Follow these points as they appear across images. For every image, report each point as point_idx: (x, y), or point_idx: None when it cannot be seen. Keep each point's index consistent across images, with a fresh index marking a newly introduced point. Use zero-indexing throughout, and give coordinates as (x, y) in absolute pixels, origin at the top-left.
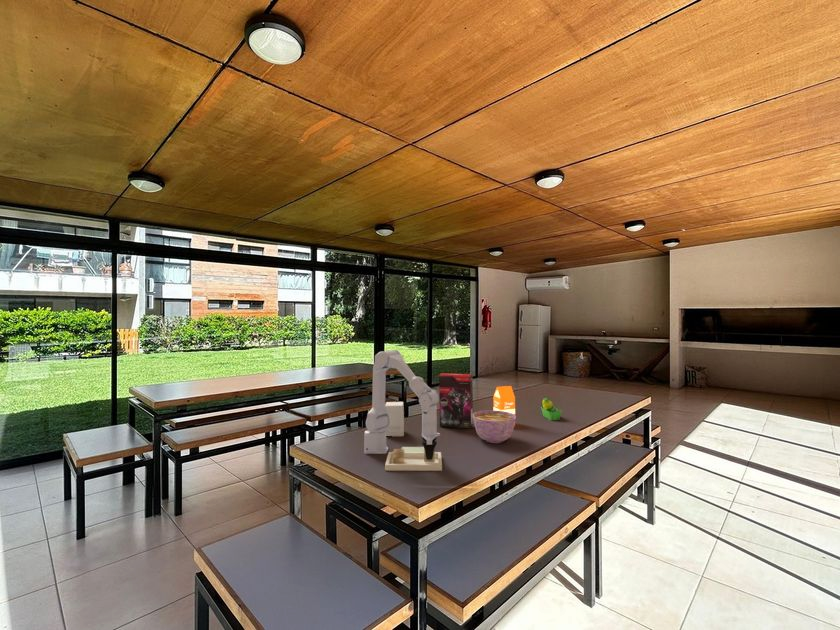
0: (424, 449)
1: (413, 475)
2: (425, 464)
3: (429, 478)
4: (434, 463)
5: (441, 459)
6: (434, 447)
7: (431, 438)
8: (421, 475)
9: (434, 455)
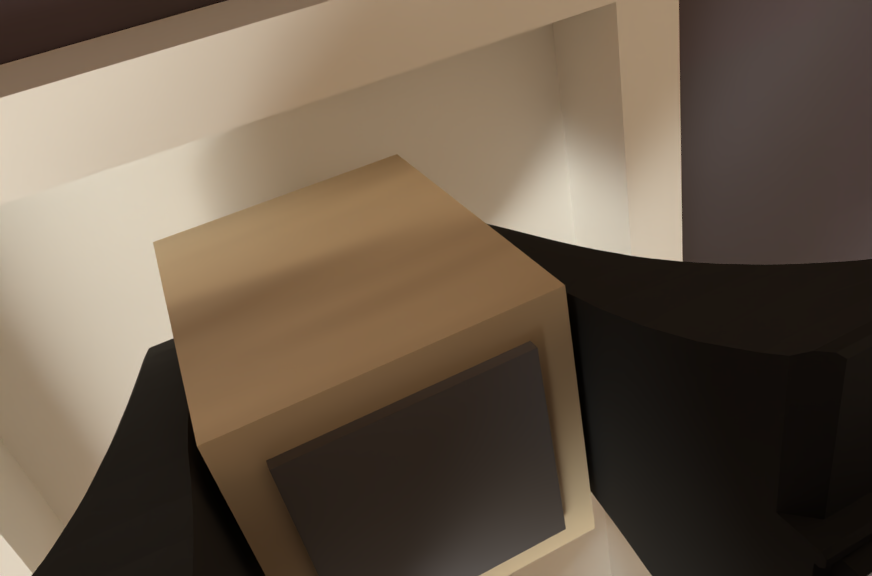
0: (588, 512)
1: None
2: (656, 254)
3: (811, 59)
4: (267, 172)
5: (323, 2)
6: (801, 272)
7: None
8: (720, 206)
9: (461, 211)
